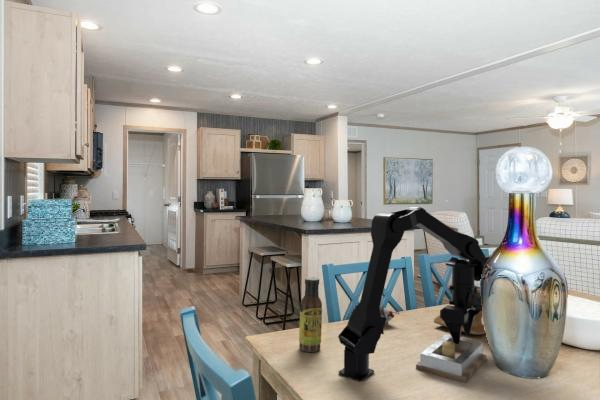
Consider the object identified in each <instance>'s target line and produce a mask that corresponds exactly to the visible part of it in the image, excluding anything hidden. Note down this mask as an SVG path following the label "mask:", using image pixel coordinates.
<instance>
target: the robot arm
mask: <svg viewBox="0 0 600 400" xmlns="http://www.w3.org/2000/svg"><path fill="white" fill-rule="evenodd" d="M414 227H418V228H420V230H422V231H424V232H426V233H427V234H429V235H430V236H432V237H433V238H435V239H436V240H438V241H439V242H440V243H442V245H443V247H444V249H445V250H446V251H447V252H448V253H449V254H450V255H452V257H450V259H449V260H447V261H446V263H445V266H448V267H451V284H450V285H449V290H451V299H450V300H449V303H448V304H449V305H446V306H444V307H443V308H442V309H440V311H439V316H440V318H441V319H442V320H443V321H444V322H445V324H446V326H447V327H446V328H447V330H448V332H449V335H451V337H452V339H453V341H454V343H455V344H459V342H460V337H461V335H462V326H463V328H464V331H465V332H464V334H465V335H467V336H470V335H471V334H470V332H471V328H472V325H473V321H474V318H475V315H477V314H478V313H479V312H480V311H482V305H481V296H480V293H479V292H478V288H477V286H478V285H475V283H476V282H481V281H480V279H481V274H482V271H483V268H484V265H485V264H486V262H487V260H488V259H489V257H490V256H491V255H488V254H486V255H485V254H484V252H483V250H482V249H481V246H480V245H479V244H480V242H479V241H478V239H477V238H475V237H473V236H470V235H468V234H465V233H462V232H458V231H455V230H454V229H453V228H451V227H450V226H448V225H447V224H445V223H444V222H442V221H441V220H440V219H438V218H436V216H433V215H432V214H430V213H429V212H428V211H427V210H426V209H425V208H423V207H421V206H420V207H419V206H409V207H407V208H404V209H401V210H396V211H392V212H379V213H377V214H375V215H374V216H373V218H372V220H371V226H370V229H371V231H370V236H371V241H372V251H371V255H370V259H369V263H368V267H367V272H366V275H365V276H366V277H365V281H364V285H363V289H362V293H361V297H360V301H359V303H357V305H356V306H355V307H354V310H353V309H352V312H351V314H350V317H349V319H348V321H347V325H345V327H344V328H343V329H342V331H341V332H340V333H339V335H338V336H337V338H338V340H339V343H340V344H341V345H343V346H344V350H343V353H344V355H343V358H344V359H343V368H342V369H339V370H338V374H339V375H342V376H344V377H347V378H351V379H353V380H356V381H359V382H362V381H364V380H365V379H367V378H368V377H370V376H372V374H374V373H375V370H374V369H372V368H370V354H375V351H376V349H377V345H378V342H379V341H380V339H381V336H382V335H384V332H385V331H384V329H385V326H386V324H385V322H386V317H384V316H382V315H381V312H380V307H381V304H382V299H383V295H384V290H385V285H386V281H387V276H388V273H389V270H390V264H391V260H392V255H393V252H394V250H395V249H396V247H397V246H399V244H400V243H401V241H402V239H403V237H404V234H405V232H406V231H409V230H411V229H413V228H414ZM453 256H454V257H453ZM459 258H460V259H459ZM475 281H476V282H475ZM474 285H475V286H474ZM461 338H462V337H461Z"/></svg>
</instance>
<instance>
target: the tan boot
mask: <svg viewBox="0 0 600 400" xmlns="http://www.w3.org/2000/svg"><path fill="white" fill-rule="evenodd" d="M474 286H477V288H478V292H479V293H480V287H481V286H478V285H476V284H474ZM482 319H483V315H482V311H480V312H479V313H478V314H477V315H475V318H474V321H473V325H472V328H471V332H470V335H478V336H481V335H484V334H486V333H485V330H484V326H485V324H483V322H482ZM433 323H434V324H436V325H439V326H443V327H445V328H447V326H446V324H445V322H444V321H443V320H442V319H441V318H440V315H438V316H436V317H435V318H434V319H433ZM462 332H463V333H465V331H464V328H463V326H462V331H461V333H462Z"/></svg>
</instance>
